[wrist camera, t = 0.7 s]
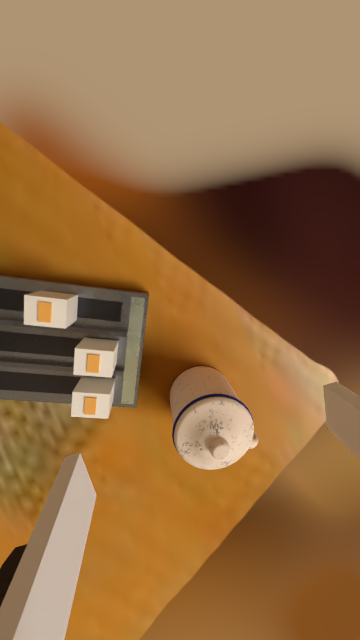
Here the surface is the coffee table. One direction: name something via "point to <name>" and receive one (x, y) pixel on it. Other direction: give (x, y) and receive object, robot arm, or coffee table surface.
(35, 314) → the breaker
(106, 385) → the breaker
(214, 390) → the teacup with lid
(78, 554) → the robot arm
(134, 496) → the coffee table surface
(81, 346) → the breaker
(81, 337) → the panel
